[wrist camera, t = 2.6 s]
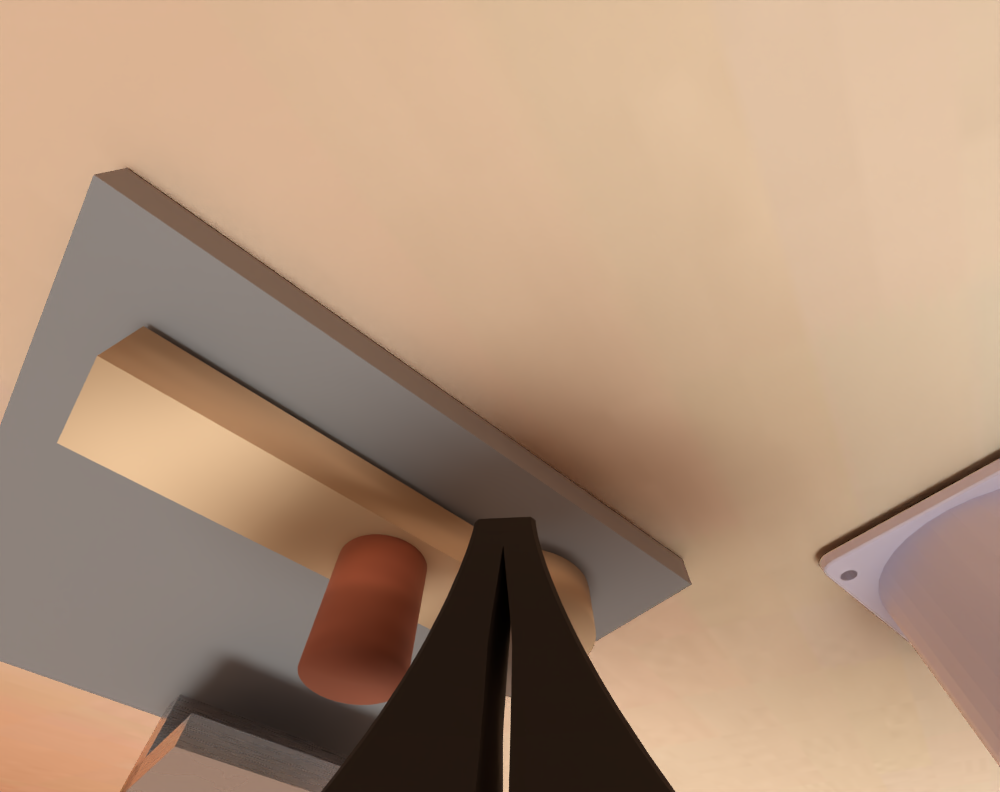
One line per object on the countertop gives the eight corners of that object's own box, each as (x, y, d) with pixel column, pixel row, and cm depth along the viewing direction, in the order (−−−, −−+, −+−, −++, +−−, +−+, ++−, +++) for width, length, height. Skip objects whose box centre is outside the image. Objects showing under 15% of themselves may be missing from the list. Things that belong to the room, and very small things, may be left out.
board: (682, 559, 17) (725, 676, 14) (359, 761, 26) (336, 863, 22) (127, 168, 11) (-52, 204, 7) (-52, 610, 19) (-172, 720, 16)
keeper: (439, 711, 23) (426, 830, 19) (370, 754, 25) (346, 867, 22) (238, 623, 19) (174, 746, 16) (180, 683, 22) (114, 802, 18)
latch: (618, 592, 16) (652, 747, 12) (524, 651, 18) (528, 802, 14) (156, 301, 11) (-32, 412, 7) (93, 426, 13) (-82, 566, 9)
